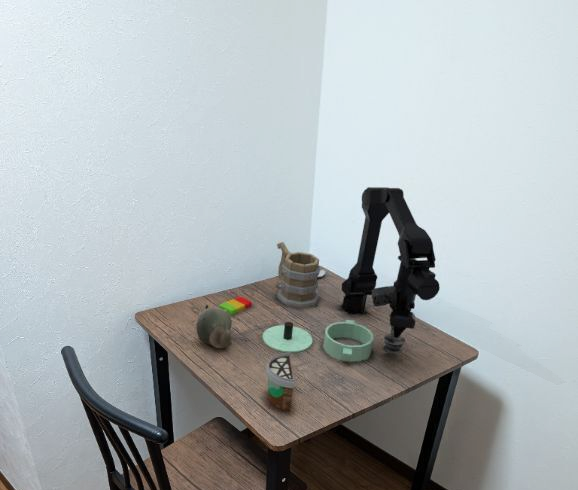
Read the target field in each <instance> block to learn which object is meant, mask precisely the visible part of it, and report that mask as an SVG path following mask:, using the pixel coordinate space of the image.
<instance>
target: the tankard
mask: <svg viewBox="0 0 578 490" xmlns="http://www.w3.org/2000/svg"><path fill="white" fill-rule="evenodd" d="M276 246H277V249H279V250H280V251H281V257H280V262H279V265H278V271H277V273H278V278H279V281H280V284H279V285H280V286H281V287H280V289H279V291H278V292H277V293H276V299H278V300H279V302H281V303H283V304H285V305H288V306H293V307H296V308H297V307H298V308H304V307H315V306H316V305H317V302H318V300H319V297H320V294H319V293H317V289H318V288H319V280H318V278H319V277H318V275H319V273H320V270H321V266H320V259H319V258H318V257H317V256H315V255H314V254H312V253H307V252H303V251H297V252H291V251H290V250H289V249H288V248H287V246H286V244H285V242H284V241H281V242H278V243H277V244H276Z"/></svg>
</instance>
